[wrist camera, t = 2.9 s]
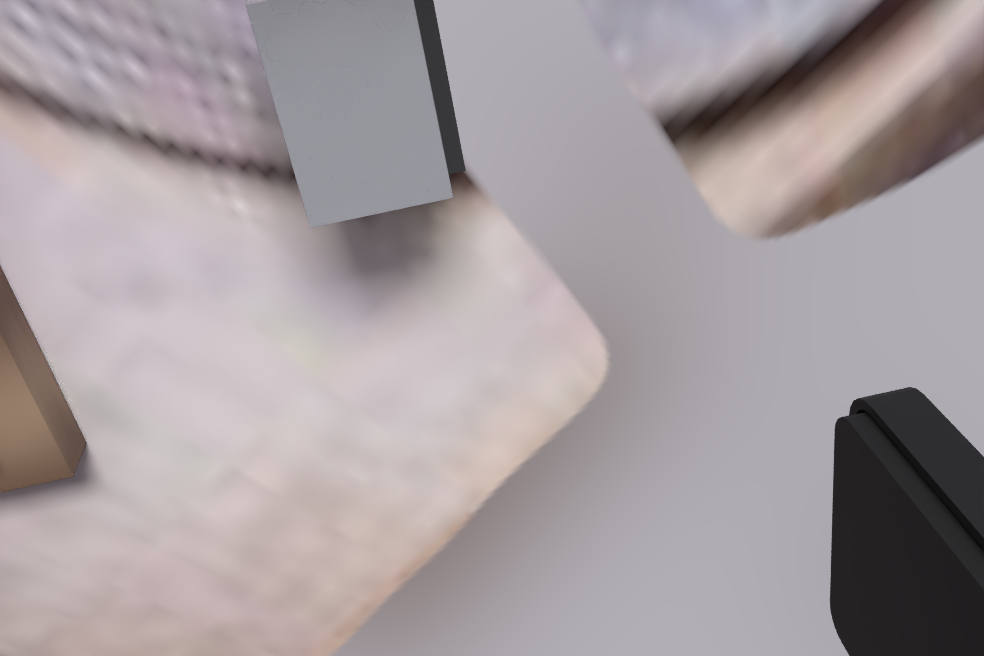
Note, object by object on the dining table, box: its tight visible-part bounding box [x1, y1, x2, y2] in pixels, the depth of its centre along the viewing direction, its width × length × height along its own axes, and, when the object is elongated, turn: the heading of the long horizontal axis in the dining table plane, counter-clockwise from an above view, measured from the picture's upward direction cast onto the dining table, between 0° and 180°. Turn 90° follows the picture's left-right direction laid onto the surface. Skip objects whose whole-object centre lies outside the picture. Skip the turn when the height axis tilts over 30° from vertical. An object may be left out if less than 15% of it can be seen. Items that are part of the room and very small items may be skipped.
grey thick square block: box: [246, 0, 466, 228], centre depth 27 cm, size 4×6×6 cm
